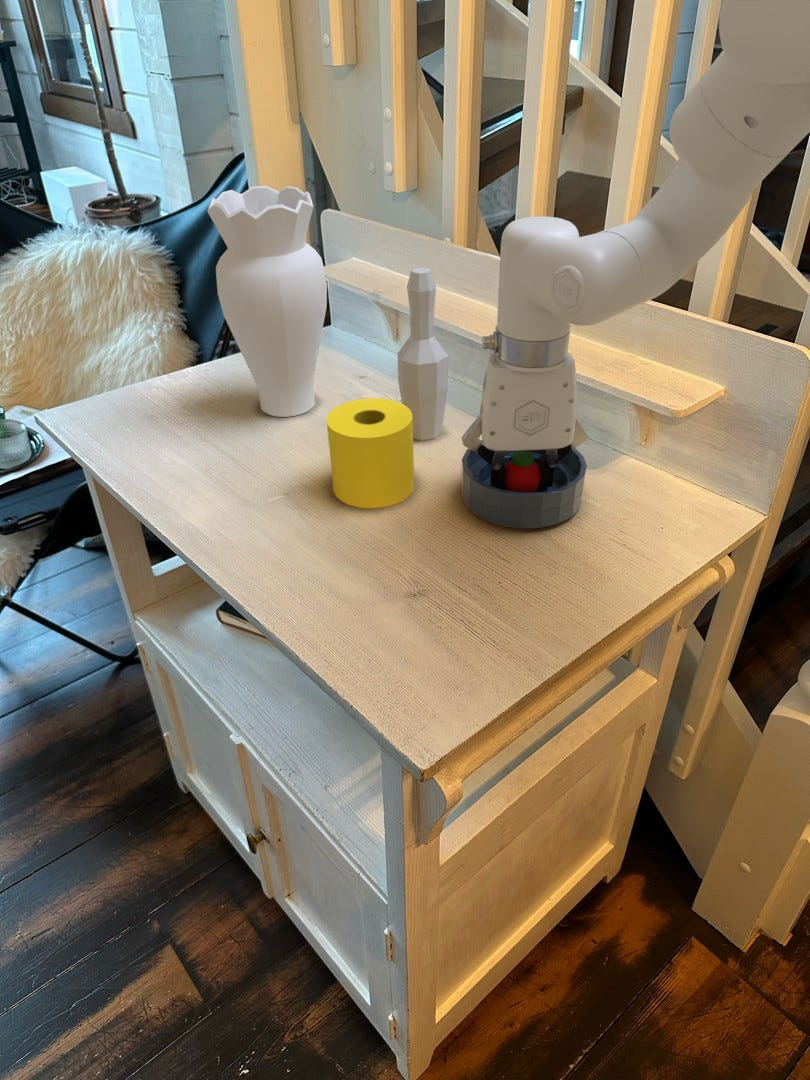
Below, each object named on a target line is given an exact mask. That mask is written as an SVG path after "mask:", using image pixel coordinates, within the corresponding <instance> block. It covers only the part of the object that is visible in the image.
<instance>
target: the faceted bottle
mask: <svg viewBox="0 0 810 1080" xmlns="http://www.w3.org/2000/svg"><path fill="white" fill-rule="evenodd" d="M406 290H407V291H406V292H407V298H408V304H409V305H408V306H409V327H410V329H409V333H410V336H409V337H408V338H407V340H406V341H405V342H404V343H403V345H402V346H401V347H400V349H399V350H398V352H397V376H398V377H397V378H398V388H399V394H400V398H401V404H403V405H405V406H407V407H408V408H409V409H410V410H411V412H412V419H413V440H414V439H415V440H418V441H427V440H434V439H435V438H437V437H439V436H440V435H441V434H442V433H443V424H444V419H445V411H446V405H447V404H446V402H447V397H448V396H447V395H448V388H449V355H448V353H447V352H446V351H445V350H444V348H443V347H442V345H441V344H440V343H439V341H438V340H437V339H436V336H435V303H436V293H437V286H436V284H435V280H434V277H433V272H432V270H431V269H430V268H427V267H415V268H413V269H411V270H410V274H409V277H408V280H407V285H406Z"/></svg>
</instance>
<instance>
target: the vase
mask: <svg viewBox="0 0 810 1080" xmlns="http://www.w3.org/2000/svg"><path fill="white" fill-rule="evenodd" d="M313 210H314V203H313V200H312V196H311V194H310V192H308V190H307V191H305V192H304V191H302V190H301V189H300V188H299V187H298V186H291V185H285V187H284V188H282V189H280V190H276V189H274V188H272V187H269V186H268V185H256V186H252V187H250V188H248V189H246V190H245V191H244V192H242V193H240V192H237V191H235V190H233V189H229V190H226V191H222V192H221V193H220V194H219V195H218V196H217V197H216V198H215V197H212V198H211V200H210V202H209V205H208V207H207V211H206V212H207V214H208V216H209V217H210V219H211V221H212V223H213V224H214V226H215V228H216V229H217V231H218V233H219V235H220V237H221V238H222V240H223V242H224V244H225V246H226V247H227V249H226V250H225V251H224V252H223V254H222V255H221V256H220V257H219V259H218V261H217V264H216V266H215V276H216V289H217V290H216V291H217V296H218V300H219V304H220V307H221V311H222V314H223V317H224V319H225V321H226V324H227V326H228V328H229V330H230V332H231V334H232V336H233V338H234V340H235V343H236V344H237V347H238V349H239V351H240V353H241V354H242V358H243V359H244V361H245V364H246V365H247V368H248V370H249V372H250V375H251V376H252V379H253V380H254V382H255V385H256V388H257V391H258V396H259V398H258V399H259V404H260V409H261V410H262V412H264V413H265V414H267V415H268V416H272V417H276V418H277V417H278V418H289V417H295V416H296V417H297V416H300V415H302V414H305V413H308V412H309V411H310V410H311V409H313V407H314V406H315V404H316V399H315V390H314V380H315V379H314V378H315V372H316V367H317V361H318V356H319V350H320V346H321V340H322V334H323V329H324V324H325V317H326V313H327V306H328V305H327V304H328V284H327V278H326V273H325V266H324V263H323V258H322V257H321V255H320V254H319V253H318V252H317V250H316V249H315V248H314V247H312V246H311V245H310V244H309V243H307V233H308V229H309V225H310V221H311V218H312V214H313Z"/></svg>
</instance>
